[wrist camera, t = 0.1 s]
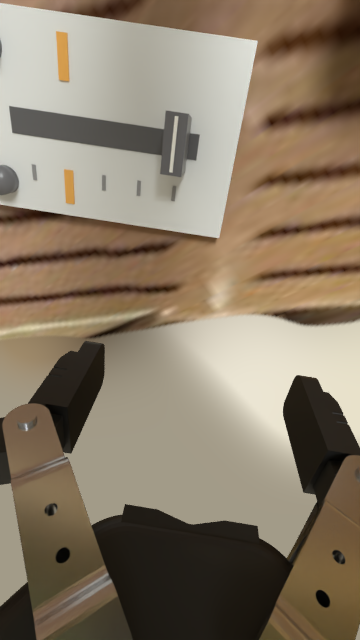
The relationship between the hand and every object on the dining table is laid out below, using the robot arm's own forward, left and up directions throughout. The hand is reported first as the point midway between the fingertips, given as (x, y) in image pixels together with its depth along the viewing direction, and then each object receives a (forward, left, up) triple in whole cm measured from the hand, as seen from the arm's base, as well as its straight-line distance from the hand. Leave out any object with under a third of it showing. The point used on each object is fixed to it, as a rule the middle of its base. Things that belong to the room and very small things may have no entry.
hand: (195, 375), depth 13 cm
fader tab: (-8, -4, -27) cm, 28 cm away
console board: (-8, -12, -29) cm, 32 cm away
